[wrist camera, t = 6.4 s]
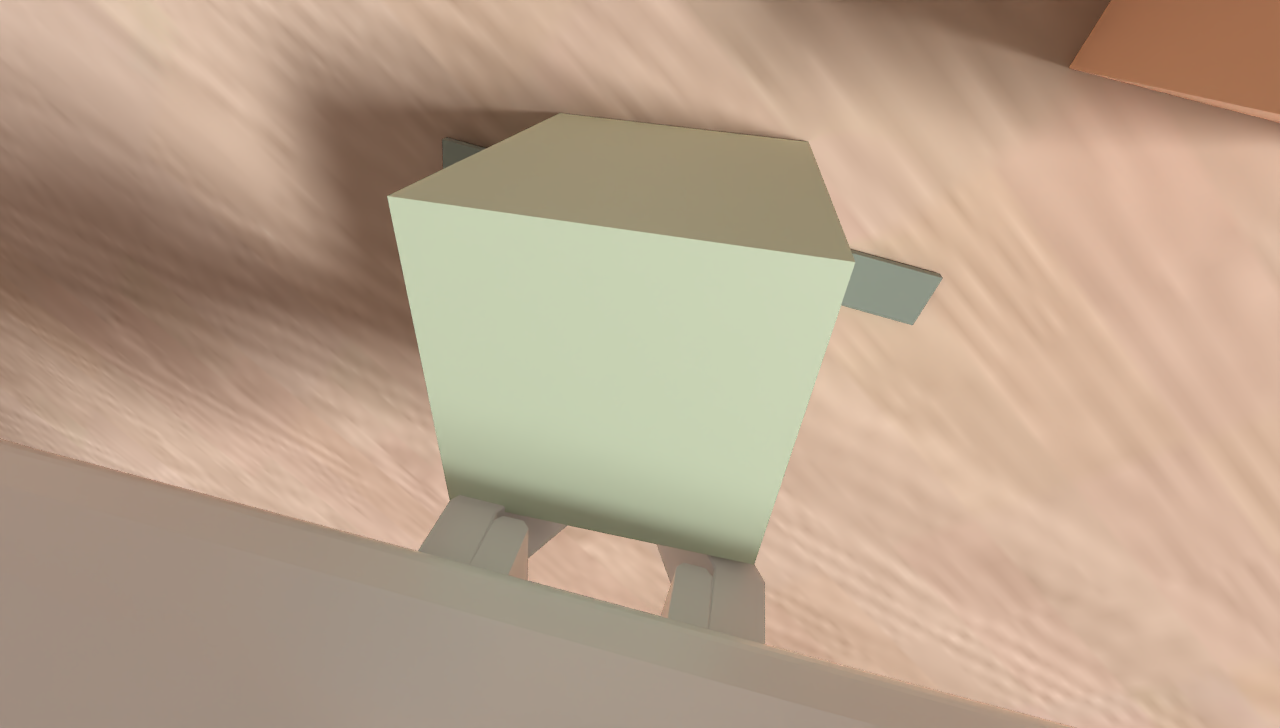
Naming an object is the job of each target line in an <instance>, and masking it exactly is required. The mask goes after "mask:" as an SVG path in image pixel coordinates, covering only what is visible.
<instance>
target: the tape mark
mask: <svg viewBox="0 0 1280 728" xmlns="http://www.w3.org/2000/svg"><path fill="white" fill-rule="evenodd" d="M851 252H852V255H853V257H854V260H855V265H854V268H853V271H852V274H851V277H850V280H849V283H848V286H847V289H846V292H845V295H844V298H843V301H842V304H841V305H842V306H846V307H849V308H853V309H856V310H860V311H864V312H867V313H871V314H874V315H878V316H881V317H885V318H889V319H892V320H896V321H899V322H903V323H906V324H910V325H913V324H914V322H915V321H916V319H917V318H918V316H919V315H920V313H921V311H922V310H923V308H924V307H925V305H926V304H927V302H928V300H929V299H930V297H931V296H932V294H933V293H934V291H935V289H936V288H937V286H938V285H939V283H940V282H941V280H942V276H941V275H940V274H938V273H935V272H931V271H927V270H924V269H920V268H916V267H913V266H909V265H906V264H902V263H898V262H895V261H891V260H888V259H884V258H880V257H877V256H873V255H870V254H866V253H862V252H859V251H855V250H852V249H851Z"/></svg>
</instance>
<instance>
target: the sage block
mask: <svg viewBox="0 0 1280 728" xmlns="http://www.w3.org/2000/svg"><path fill="white" fill-rule="evenodd" d="M387 198H388V203H389V208H390V213H391V218H392V222H393V227H394V232H395V237H396V242H397V247H398V251H399V256H400V261H401V266H402V271H403V276H404V281H405V285H406V290H407V295H408V300H409V305H410V310H411V314H412V319H413V324H414V329H415V334H416V339H417V344H418V348H419V353H420V358H421V363H422V368H423V373H424V377H425V382H426V387H427V392H428V397H429V402H430V407H431V411H432V416H433V421H434V426H435V431H436V436H437V440H438V445H439V450H440V455H441V460H442V465H443V470H444V474H445V479H446V484H447V489H448V494H449V499H450V500H451V499H453V498H455V497H457V496H458V495H462V496H466V497H470V498H474V499H478V500H482V501H486V502H490V503H494V504H498V505H502V506H504V507H505V512H508V513H512V514H517V515H522V516H527V517H531V518H536V519H541V520H545V521H550V522H555V523H560V524H564V525H569V526H574V527H578V528H583V529H588V530H593V531H597V532H602V533H607V534H611V535H616V536H621V537H626V538H630V539H635V540H640V541H645V542H649V543H654V544H659V545H663V546H668V547H673V548H678V549H682V550H687V551H692V552H696V553H701V554H706V555H711V556H715V557H720V558H725V559H729V560H734V561H739V562H744V563H748V564H753V565H754V563H755V560H756V557H757V554H758V551H759V548H760V545H761V542H762V539H763V536H764V533H765V530H766V527H767V524H768V521H769V518H770V515H771V512H772V509H773V506H774V504H775V501H776V498H777V495H778V492H779V489H780V486H781V483H782V480H783V477H784V474H785V471H786V468H787V465H788V462H789V459H790V456H791V453H792V450H793V447H794V444H795V441H796V438H797V435H798V432H799V429H800V426H801V423H802V420H803V417H804V414H805V411H806V408H807V405H808V402H809V399H810V396H811V393H812V390H813V387H814V384H815V381H816V378H817V375H818V372H819V369H820V366H821V363H822V360H823V357H824V354H825V351H826V348H827V345H828V343H829V340H830V337H831V334H832V331H833V328H834V325H835V322H836V319H837V316H838V313H839V310H840V307H841V304H842V301H843V298H844V295H845V292H846V289H847V286H848V283H849V280H850V277H851V274H852V271H853V268H854V265H855V260H854V257H853V255H852V252H851V249H850V247H849V244H848V242H847V239H846V237H845V234H844V232H843V229H842V226H841V224H840V221H839V219H838V216H837V214H836V211H835V208H834V206H833V203H832V201H831V198H830V196H829V193H828V190H827V188H826V185H825V183H824V180H823V178H822V175H821V173H820V170H819V167H818V165H817V162H816V160H815V157H814V155H813V152H812V149H811V147H810V144H809V142H806V141H797V140H789V139H780V138H772V137H763V136H754V135H746V134H737V133H729V132H720V131H711V130H703V129H694V128H685V127H677V126H668V125H660V124H651V123H642V122H634V121H625V120H617V119H608V118H599V117H591V116H582V115H574V114H565V113H559V114H557V115H555V116H553V117H551V118H549V119H547V120H544V121H542V122H540V123H538V124H536V125H534V126H532V127H530V128H528V129H526V130H524V131H522V132H519V133H517V134H515V135H513V136H511V137H509V138H507V139H505V140H503V141H501V142H499V143H497V144H494V145H492V146H490V147H488V148H486V149H484V150H482V151H480V152H478V153H476V154H474V155H472V156H469V157H467V158H465V159H463V160H461V161H459V162H457V163H455V164H453V165H451V166H449V167H447V168H444V169H442V170H440V171H438V172H436V173H434V174H432V175H430V176H428V177H426V178H424V179H422V180H419V181H417V182H415V183H413V184H411V185H409V186H407V187H405V188H403V189H401V190H399V191H397V192H394V193H392V194H390V195H388V196H387Z"/></svg>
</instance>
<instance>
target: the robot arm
mask: <svg viewBox="0 0 1280 728" xmlns="http://www.w3.org/2000/svg"><path fill="white" fill-rule="evenodd" d="M566 526H567V525H564V524H560V523H555V522H550V521H545V520H541V519H536V518H531V517H527V516H522V515H517V514H512V513H508V512H505V507H504V506H502V505H498V504H494V503H490V502H486V501H482V500H478V499H474V498H470V497H466V496H462V495H458V496H457V497H455V498H453V499H451V500H450V501H449V503H448V505H447V506H446V508H445V509H444V511H443V512H442V514H441V516H440V517H439V519H438V520H437V522H436V523H435V525H434V527H433V528H432V530H431V531H430V533H429V534H428V536H427V538H426V539H425V541H424V542H423V544H422V545H421V547H420V549H419V550H418V551H416V550H412V549H408V548H405V547H401V546H397V545H394V544H390V543H386V542H382V541H379V540H375V539H371V538H367V537H364V536H360V535H356V534H353V533H349V532H345V531H341V530H338V529H334V528H330V527H326V526H323V525H319V524H315V523H312V522H308V521H304V520H300V519H297V518H293V517H289V516H285V515H282V514H278V513H274V512H271V511H267V510H263V509H259V508H256V507H252V506H248V505H244V504H241V503H237V502H233V501H230V500H226V499H222V498H218V497H215V496H211V495H207V494H203V493H200V492H196V491H192V490H189V489H185V488H181V487H177V486H174V485H170V484H166V483H163V482H159V481H155V480H151V479H148V478H144V477H140V476H136V475H133V474H129V473H125V472H121V471H118V470H114V469H110V468H106V467H103V466H99V465H95V464H92V463H88V462H84V461H80V460H77V459H73V458H69V457H65V456H62V455H58V454H54V453H50V452H47V451H43V450H39V449H35V448H32V447H28V446H25V445H21V444H18V443H15V442H11V441H8V440H4V439H1V438H0V728H1076V727H1072V726H1068V725H1064V724H1061V723H1057V722H1053V721H1050V720H1046V719H1042V718H1038V717H1035V716H1031V715H1027V714H1023V713H1020V712H1016V711H1012V710H1009V709H1005V708H1001V707H997V706H994V705H990V704H986V703H983V702H979V701H975V700H971V699H968V698H964V697H960V696H956V695H953V694H949V693H945V692H942V691H938V690H934V689H930V688H927V687H923V686H919V685H915V684H912V683H908V682H904V681H901V680H897V679H893V678H889V677H886V676H882V675H878V674H875V673H871V672H867V671H863V670H860V669H856V668H852V667H848V666H845V665H841V664H837V663H834V662H830V661H826V660H822V659H819V658H815V657H811V656H808V655H804V654H800V653H796V652H793V651H789V650H785V649H781V648H778V647H774V646H770V645H767V644H765V582H764V580H763V578H762V576H761V575H760V573H759V571H758V570H757V568H756V566H755V565H753V564H748V563H744V562H739V561H734V560H729V559H725V558H720V557H715V556H711V555H706V554H701V553H696V552H692V551H687V550H682V549H678V548H673V547H668V546H663V545H659V544H657V547H658V550H659V552H660V555H661V558H662V561H663V563H664V566H665V569H666V572H667V574H668V577H669V580H670V583H671V585H670V588H669V591H668V595H667V598H666V601H665V604H664V607H663V610H662V613H661V616H658V615H654V614H650V613H646V612H643V611H639V610H635V609H632V608H628V607H624V606H620V605H617V604H613V603H609V602H606V601H602V600H598V599H594V598H591V597H587V596H583V595H580V594H576V593H572V592H568V591H565V590H561V589H557V588H554V587H550V586H546V585H542V584H539V583H535V582H531V581H528V558H529V557H530V556H531V555H533V554H534V553H535V552H536V551H537V550H539V549H540V548H541V547H542V546H543V545H545V544H546V543H547V542H548V541H549V540H551V539H552V538H553V537H554V536H555V535H557V534H558V533H559V532H560V531H561V530H563V529H564V528H565V527H566Z"/></svg>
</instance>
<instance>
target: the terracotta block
mask: <svg viewBox="0 0 1280 728" xmlns="http://www.w3.org/2000/svg"><path fill="white" fill-rule="evenodd" d="M1069 68H1070V69H1074V70H1078V71H1082V72H1086V73H1089V74H1093V75H1097V76H1101V77H1105V78H1109V79H1113V80H1116V81H1120V82H1124V83H1128V84H1132V85H1136V86H1139V87H1143V88H1147V89H1151V90H1155V91H1159V92H1163V93H1166V94H1170V95H1174V96H1178V97H1182V98H1186V99H1190V100H1193V101H1197V102H1201V103H1205V104H1209V105H1213V106H1216V107H1220V108H1224V109H1228V110H1232V111H1236V112H1240V113H1243V114H1247V115H1251V116H1255V117H1259V118H1263V119H1266V120H1270V121H1274V122H1278V123H1280V0H1111V1H1110V3H1109V4H1108V6H1107V7H1106V9H1105V11H1104V12H1103V14H1102V15H1101V17H1100V19H1099V20H1098V22H1097V23H1096V25H1095V27H1094V28H1093V30H1092V31H1091V33H1090V35H1089V36H1088V38H1087V39H1086V41H1085V43H1084V44H1083V46H1082V47H1081V49H1080V51H1079V52H1078V54H1077V55H1076V57H1075V59H1074V60H1073V62H1072V63H1071V65H1070V67H1069Z"/></svg>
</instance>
